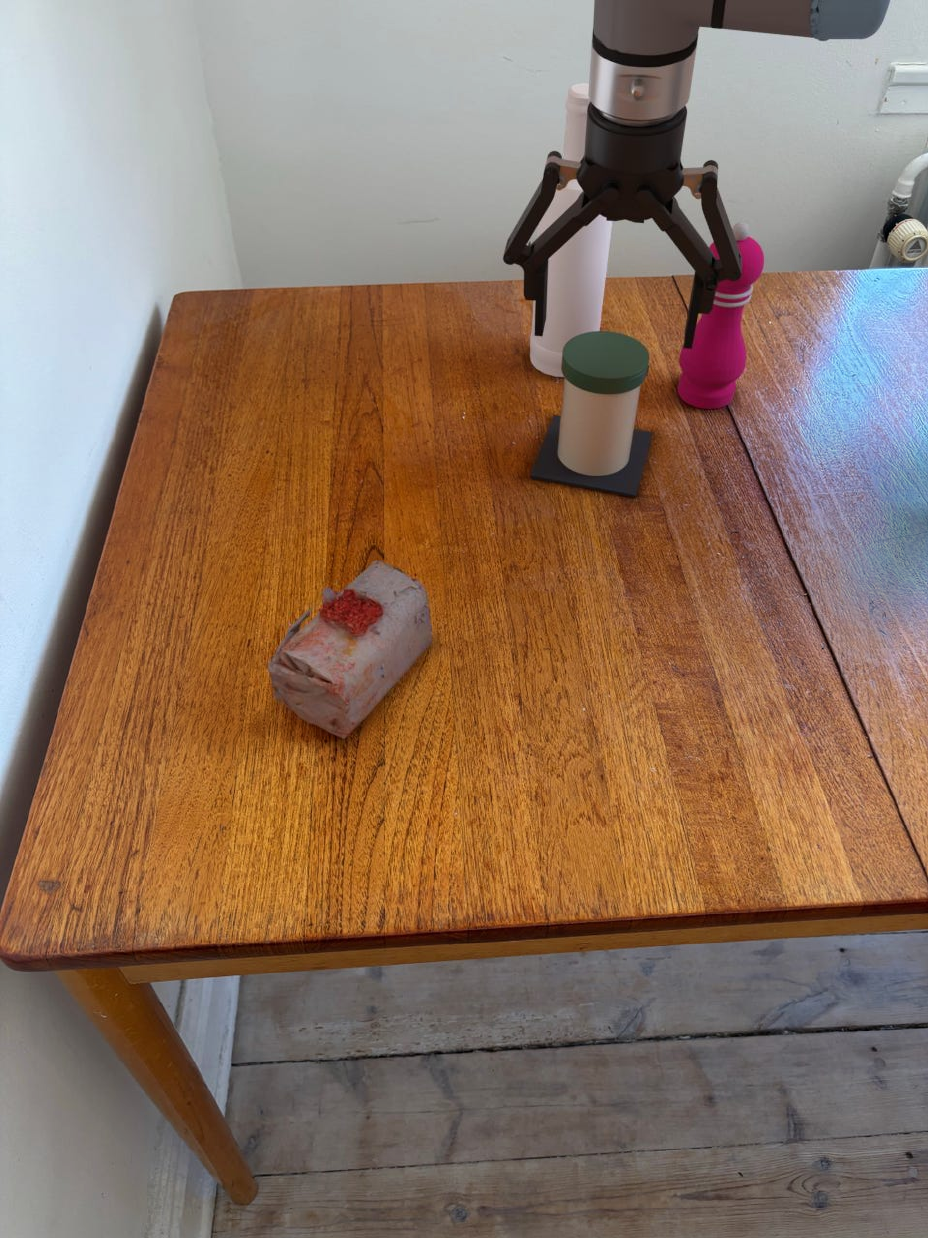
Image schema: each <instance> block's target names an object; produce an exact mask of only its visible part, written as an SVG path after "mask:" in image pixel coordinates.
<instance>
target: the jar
mask: <svg viewBox="0 0 928 1238" xmlns="http://www.w3.org/2000/svg"><path fill="white" fill-rule="evenodd" d="M641 388H642V384H641V385H640V386H639V387H637V388H635V389H634V390H631V391H629V392H625V393H620V394H597V393H592V392H588V391H585V390H582V389H579V388H577V387H575V386H574V385H572V384H571V383H570V382H568V381H567V380H566V378H565V377H563V387H562V396H561V406H560V415H559V416H560V427H559V438H558V448H557V453H558V457H559V459H560V461H561V462H562V463H563V464H564V465H565V466H566V467H567V468H569V469H571V470H572V471H575V472H577V473H580V474H584V475H589V476H604V475H610V474H613V473H616V472H618V471H620V470H621V469H622V468H624V467H625V466H626V464H627V463H628V461H629V457H630V451H631V445H632V438H633V432H634V429H635V424H636V418H637V413H638V407H639V400H640V394H641V390H642V389H641Z"/></svg>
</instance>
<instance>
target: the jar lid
mask: <svg viewBox="0 0 928 1238" xmlns="http://www.w3.org/2000/svg"><path fill="white" fill-rule="evenodd" d="M649 363H650V352H649V350H648V349H647V347H646V346H645V345H644V344H643V343H642V342H641V341H639V340H638V339H636V338H634V337H632V336H630V335H627V334H624V333H621V332H616V331H611V330H610V331H609V330H600V331H593V332H587V333H583V334H580V335H577V336H575V337H573V338H571V339H570V340H569V341H568V342H567V343H566V344H565V346H564V348H563V353H562V364H561V370H562V373H563V376H564V377H565V378H566V380H567V381H568V382H570V383H571V384H572V385H574V386H575V387H577V388H579V389H582V390H585V391H588V392H592V393H597V394H620V393H625V392H629V391H631V390H634V389H635V388H637V387H639V386H640V385H641V386H642V384H643V383H644V382H645V381H646V379H647V377H648V374H649V370H650V365H649ZM564 377H563V378H564Z"/></svg>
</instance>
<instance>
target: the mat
mask: <svg viewBox="0 0 928 1238" xmlns="http://www.w3.org/2000/svg"><path fill="white" fill-rule="evenodd" d="M560 416H561V415H559V414H553V415H552V418H551V420H550V423H549V426H548V428H547V430H546V433H545V437H544V438H543V441H542V444H541V446H540V449H539V451H538V454H537V456H536V459H535V462H534V464H533V466H532V469H531V471H530V474H529V478H530V479H534V480H539V481H545V482H548V483H549V482H550V483H555V484H560V485H564V486H571V487H576V488H581V489H586V490H592V491H597V492H601V493H608V494H611V495H617V496H623V497H628V498H633V499H636V497H637V494H638V491H639V487H640V483H641V480H642V476H643V472H644V469H645V464H646V462H647V461H646V460H647V457H648V453H649V450H650V446H651V442H652V439H653V435H654V432H653V431H648V430H642V429H636V428H634V432H633V438H632V445H631V451H630V457H629V461H628V463H627V464H626V466H625V467H624V468H622V469H621V470H620V471H618V472H616V473H613V474H610V475H604V476H589V475H584V474H580V473H577V472H575V471H572V470H571V469H569V468H567V467H566V466H565V465H564V464H563V463H562V462H561V461H560V459H559V457H558V453H557V448H558V438H559V427H560Z"/></svg>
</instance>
